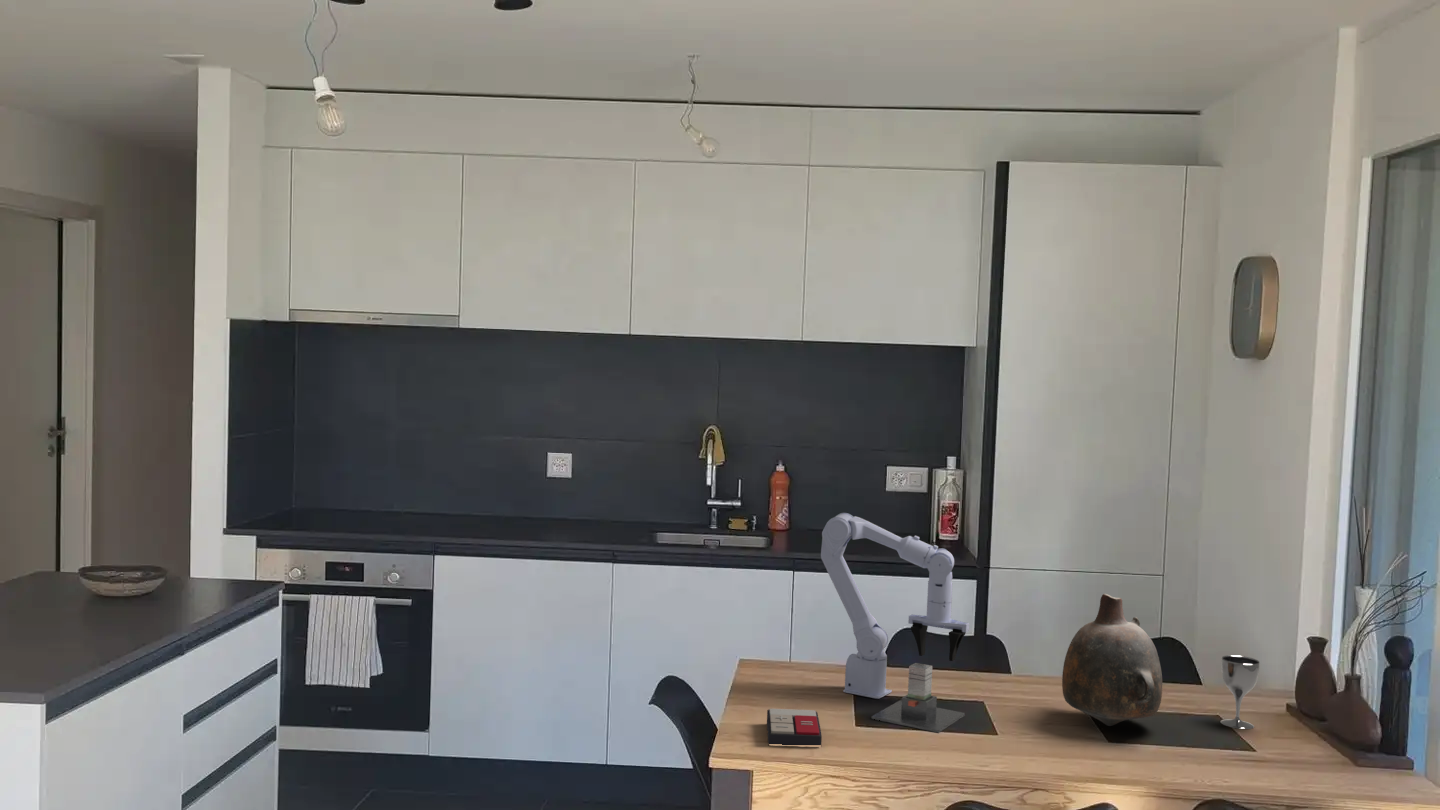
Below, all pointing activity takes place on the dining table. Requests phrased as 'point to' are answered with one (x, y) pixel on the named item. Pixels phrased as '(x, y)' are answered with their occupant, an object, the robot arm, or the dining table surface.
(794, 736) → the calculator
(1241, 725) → the silver goblet
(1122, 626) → the jug
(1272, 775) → the dining table surface
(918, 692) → the column
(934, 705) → the stand
